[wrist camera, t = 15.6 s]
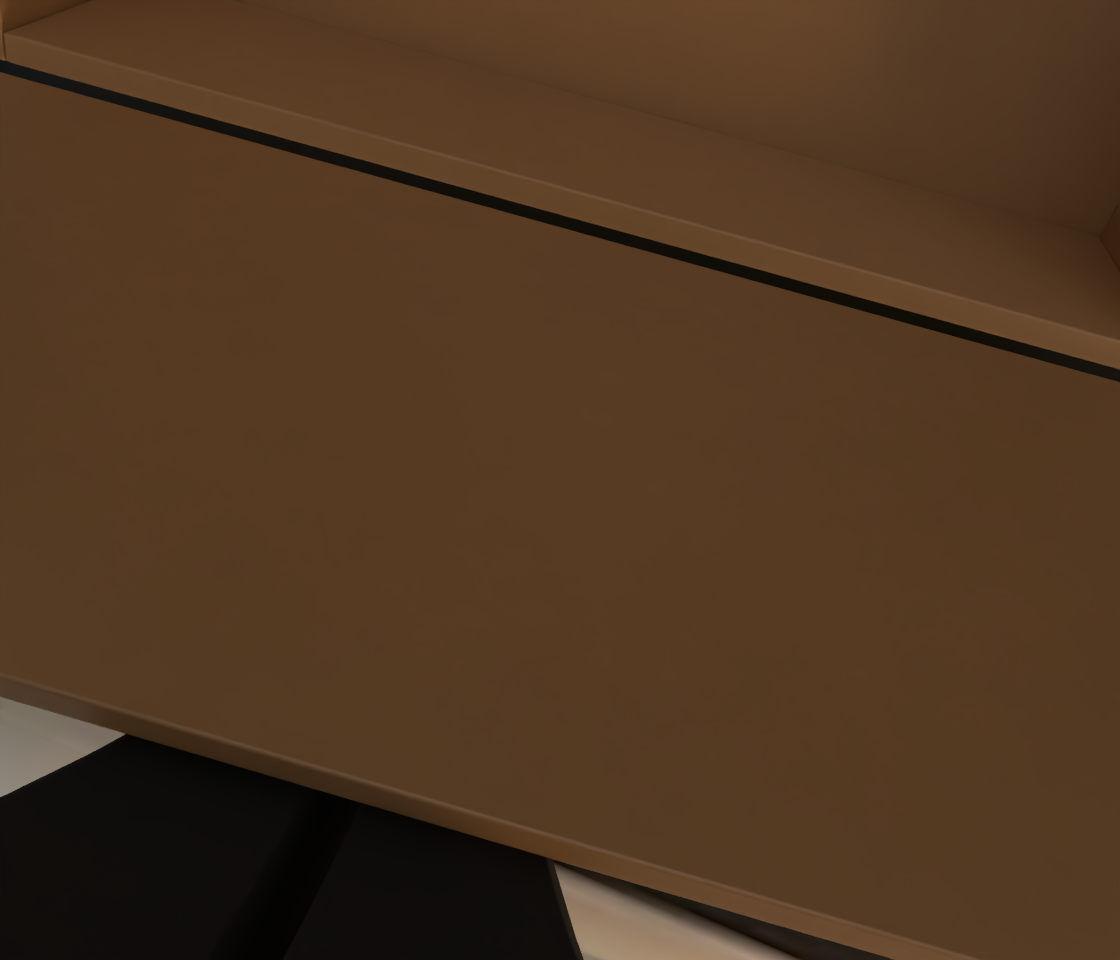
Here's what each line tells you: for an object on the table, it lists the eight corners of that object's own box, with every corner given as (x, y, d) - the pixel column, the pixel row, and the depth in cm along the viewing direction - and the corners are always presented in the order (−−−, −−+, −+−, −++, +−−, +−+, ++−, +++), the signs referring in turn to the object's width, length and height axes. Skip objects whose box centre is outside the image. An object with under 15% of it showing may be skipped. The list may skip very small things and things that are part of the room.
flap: (1201, 403, 13) (1187, 421, 13) (-53, 56, 13) (-48, 79, 14) (1526, 1123, 7) (1490, 1136, 7) (-801, 441, 7) (-772, 473, 8)
